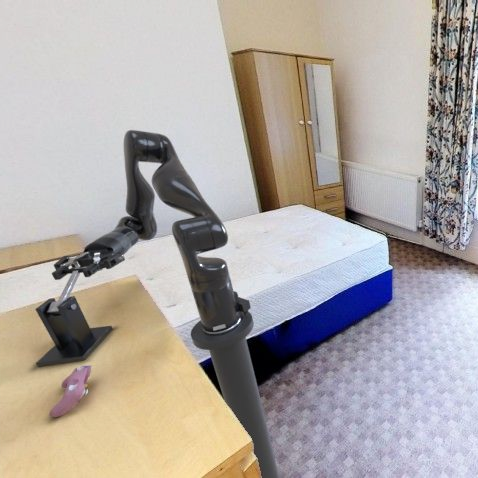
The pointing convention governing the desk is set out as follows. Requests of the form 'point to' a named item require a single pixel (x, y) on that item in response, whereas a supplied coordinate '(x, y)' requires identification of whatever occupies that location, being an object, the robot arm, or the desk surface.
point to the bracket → (69, 333)
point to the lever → (65, 290)
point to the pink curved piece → (72, 391)
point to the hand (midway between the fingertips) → (70, 275)
